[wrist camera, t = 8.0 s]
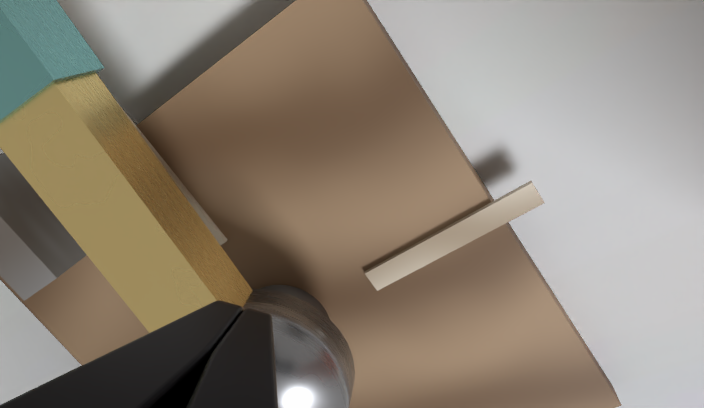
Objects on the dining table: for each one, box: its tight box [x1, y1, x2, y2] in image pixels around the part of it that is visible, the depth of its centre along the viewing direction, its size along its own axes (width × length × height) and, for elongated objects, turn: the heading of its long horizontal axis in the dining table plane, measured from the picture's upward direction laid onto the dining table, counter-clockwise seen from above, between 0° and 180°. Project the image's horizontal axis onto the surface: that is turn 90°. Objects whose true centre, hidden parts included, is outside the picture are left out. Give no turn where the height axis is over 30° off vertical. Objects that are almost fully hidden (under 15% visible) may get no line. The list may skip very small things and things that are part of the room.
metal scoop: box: [0, 0, 355, 408], centre depth 16 cm, size 16×6×2 cm, turn 31°
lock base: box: [0, 0, 621, 408], centre depth 19 cm, size 20×19×5 cm
